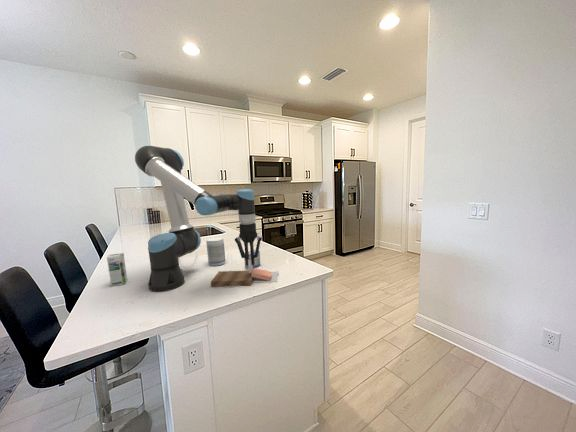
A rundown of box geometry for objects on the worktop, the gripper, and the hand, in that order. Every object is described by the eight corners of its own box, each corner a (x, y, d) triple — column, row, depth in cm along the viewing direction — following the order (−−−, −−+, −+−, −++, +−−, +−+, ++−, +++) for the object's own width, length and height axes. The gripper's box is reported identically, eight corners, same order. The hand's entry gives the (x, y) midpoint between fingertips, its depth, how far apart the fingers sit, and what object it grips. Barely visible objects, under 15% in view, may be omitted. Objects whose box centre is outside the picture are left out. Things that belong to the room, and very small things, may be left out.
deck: (211, 286, 106) (210, 281, 105) (219, 276, 118) (218, 271, 117) (250, 285, 105) (250, 280, 105) (254, 275, 117) (254, 270, 117)
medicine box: (250, 269, 125) (249, 254, 123) (244, 268, 127) (243, 252, 126) (260, 265, 131) (259, 250, 130) (255, 263, 134) (254, 249, 132)
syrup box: (110, 287, 110) (106, 257, 107) (113, 282, 115) (109, 253, 113) (125, 284, 112) (121, 255, 110) (127, 279, 117) (123, 251, 115)
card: (250, 276, 109) (251, 272, 109) (252, 271, 115) (253, 267, 115) (269, 280, 109) (270, 276, 109) (270, 275, 115) (271, 271, 115)
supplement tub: (228, 263, 136) (226, 238, 134) (213, 267, 130) (211, 242, 128) (220, 259, 143) (218, 236, 141) (205, 263, 137) (203, 239, 134)
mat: (253, 282, 108) (253, 282, 108) (256, 272, 120) (256, 272, 120) (276, 282, 108) (276, 281, 108) (278, 272, 120) (278, 271, 120)
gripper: (231, 224, 105) (235, 275, 108) (260, 223, 104) (263, 274, 108) (235, 222, 112) (238, 269, 115) (262, 221, 112) (265, 268, 115)
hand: (250, 271), depth 112 cm, fingers closed
